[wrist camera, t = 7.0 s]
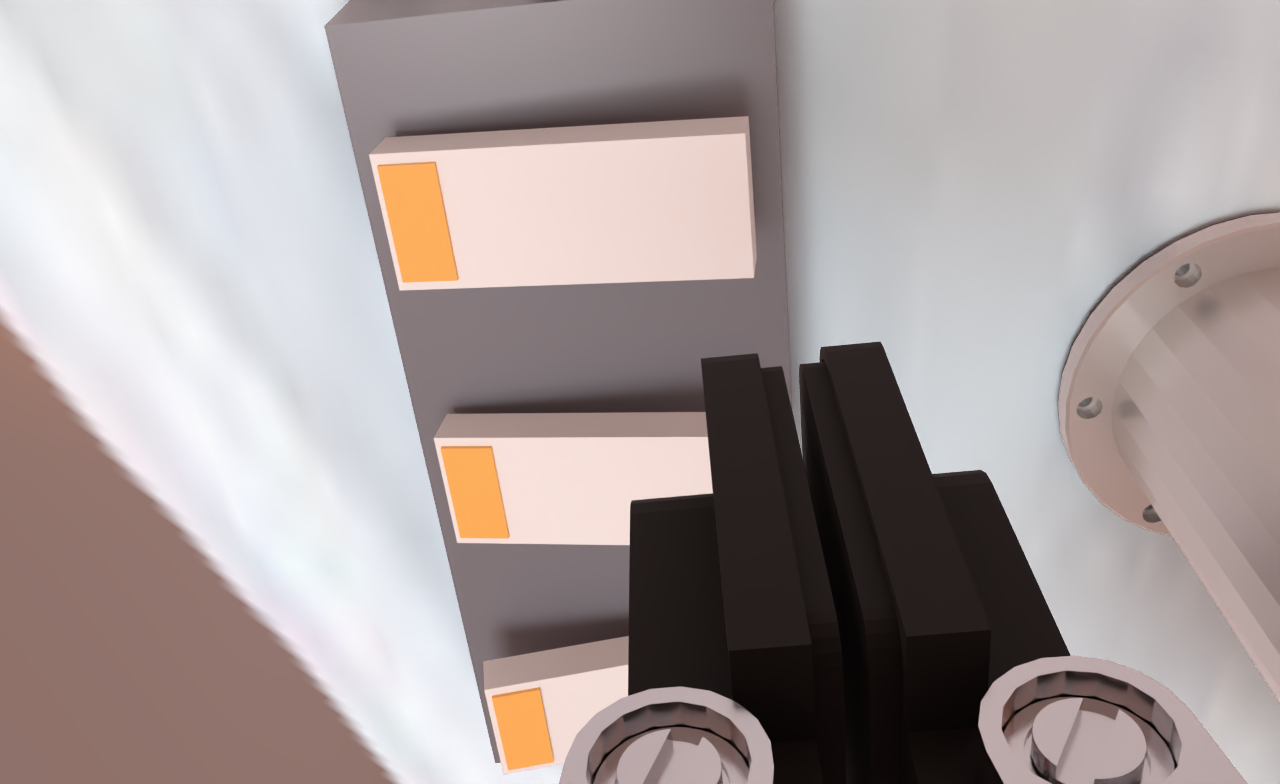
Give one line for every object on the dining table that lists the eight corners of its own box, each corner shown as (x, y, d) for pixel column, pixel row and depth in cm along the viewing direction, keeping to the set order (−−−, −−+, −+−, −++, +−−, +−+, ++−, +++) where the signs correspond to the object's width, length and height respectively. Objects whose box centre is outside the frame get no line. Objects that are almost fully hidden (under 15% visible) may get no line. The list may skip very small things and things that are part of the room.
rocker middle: (765, 411, 35) (762, 439, 34) (772, 519, 37) (769, 549, 36) (447, 413, 37) (432, 440, 36) (469, 516, 39) (455, 545, 38)
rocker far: (769, 611, 41) (780, 640, 40) (774, 695, 43) (785, 726, 42) (483, 661, 40) (484, 693, 39) (502, 744, 42) (503, 777, 41)
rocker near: (748, 116, 31) (745, 134, 30) (756, 256, 33) (753, 280, 32) (385, 137, 33) (367, 156, 31) (414, 269, 35) (398, 292, 33)
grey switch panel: (751, -201, 33) (764, -190, 29) (794, 666, 49) (807, 739, 45) (323, -152, 33) (287, -135, 30) (505, 688, 49) (495, 763, 46)
